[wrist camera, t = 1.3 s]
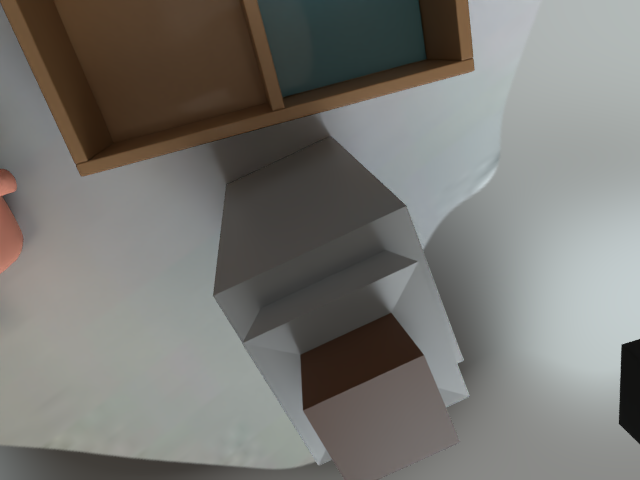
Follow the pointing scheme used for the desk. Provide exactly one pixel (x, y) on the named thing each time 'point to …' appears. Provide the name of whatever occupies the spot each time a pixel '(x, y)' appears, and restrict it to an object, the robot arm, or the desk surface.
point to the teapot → (8, 224)
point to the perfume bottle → (340, 311)
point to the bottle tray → (223, 65)
